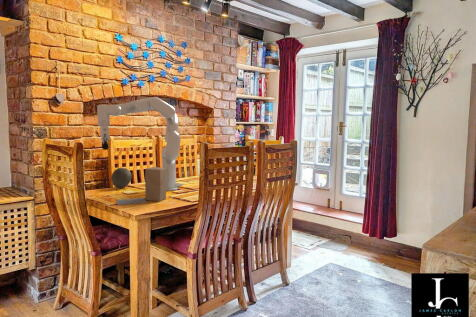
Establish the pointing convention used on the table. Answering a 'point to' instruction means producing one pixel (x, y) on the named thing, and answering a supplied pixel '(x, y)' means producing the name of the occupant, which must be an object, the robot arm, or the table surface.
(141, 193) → the table surface
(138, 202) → the mat
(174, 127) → the robot arm
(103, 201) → the table surface
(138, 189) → the table surface
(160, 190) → the wooden block
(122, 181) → the dark grey ball
